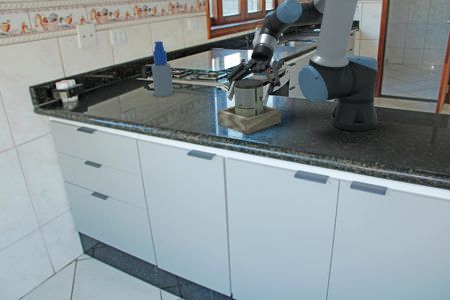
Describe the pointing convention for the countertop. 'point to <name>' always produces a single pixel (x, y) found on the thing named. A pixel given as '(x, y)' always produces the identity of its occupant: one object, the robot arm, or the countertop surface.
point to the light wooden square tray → (249, 119)
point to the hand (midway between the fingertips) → (246, 100)
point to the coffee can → (248, 97)
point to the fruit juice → (255, 75)
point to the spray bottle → (161, 72)
